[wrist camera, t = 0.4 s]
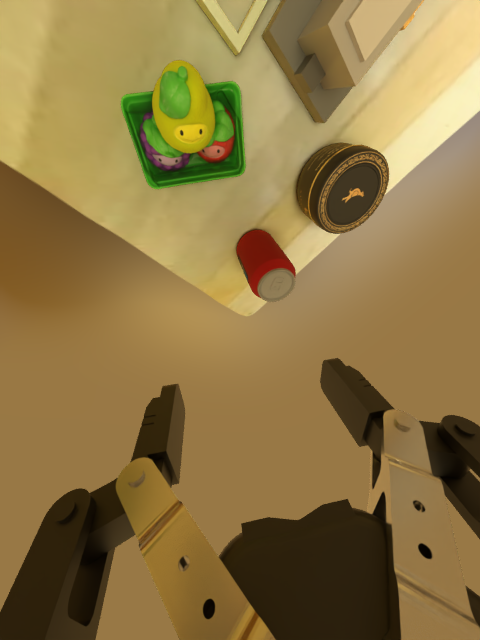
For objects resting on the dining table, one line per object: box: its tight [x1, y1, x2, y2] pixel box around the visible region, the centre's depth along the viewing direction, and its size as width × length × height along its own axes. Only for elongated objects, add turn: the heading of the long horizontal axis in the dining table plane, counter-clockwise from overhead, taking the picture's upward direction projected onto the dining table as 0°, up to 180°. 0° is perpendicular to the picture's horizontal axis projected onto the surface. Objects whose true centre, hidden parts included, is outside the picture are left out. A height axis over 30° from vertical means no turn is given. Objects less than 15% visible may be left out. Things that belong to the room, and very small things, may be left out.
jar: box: [297, 143, 389, 234], centre depth 30 cm, size 10×10×8 cm
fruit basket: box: [121, 60, 246, 189], centre depth 22 cm, size 11×9×11 cm
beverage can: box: [237, 230, 296, 302], centre depth 34 cm, size 7×7×12 cm
